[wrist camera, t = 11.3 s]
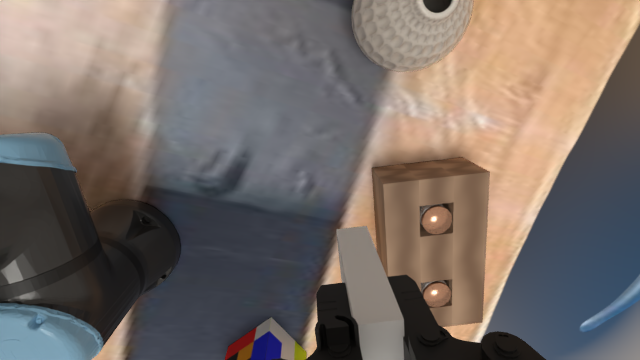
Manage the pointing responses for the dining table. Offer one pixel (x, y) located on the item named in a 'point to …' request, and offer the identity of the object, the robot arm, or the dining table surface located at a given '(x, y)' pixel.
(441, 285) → the peg
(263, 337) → the puzzle toy
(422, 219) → the peg
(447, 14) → the vase
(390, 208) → the socket block
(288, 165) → the dining table surface
